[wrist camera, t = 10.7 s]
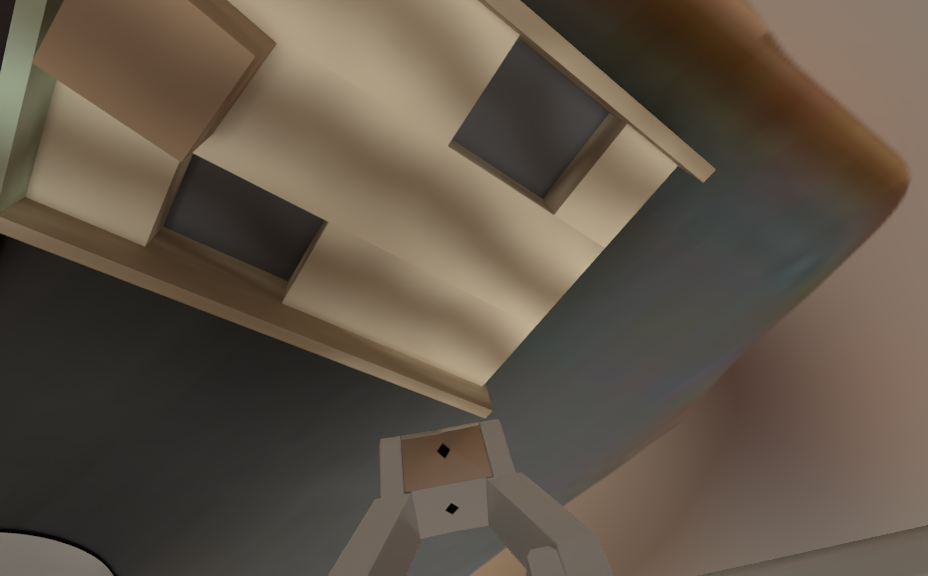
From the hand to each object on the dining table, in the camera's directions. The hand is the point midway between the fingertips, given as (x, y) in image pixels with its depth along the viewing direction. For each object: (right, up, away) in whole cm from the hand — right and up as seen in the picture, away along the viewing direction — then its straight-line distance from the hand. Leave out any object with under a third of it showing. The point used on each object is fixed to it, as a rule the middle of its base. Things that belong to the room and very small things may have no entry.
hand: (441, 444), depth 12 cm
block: (-11, +14, +7) cm, 19 cm away
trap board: (-4, +11, +14) cm, 18 cm away
